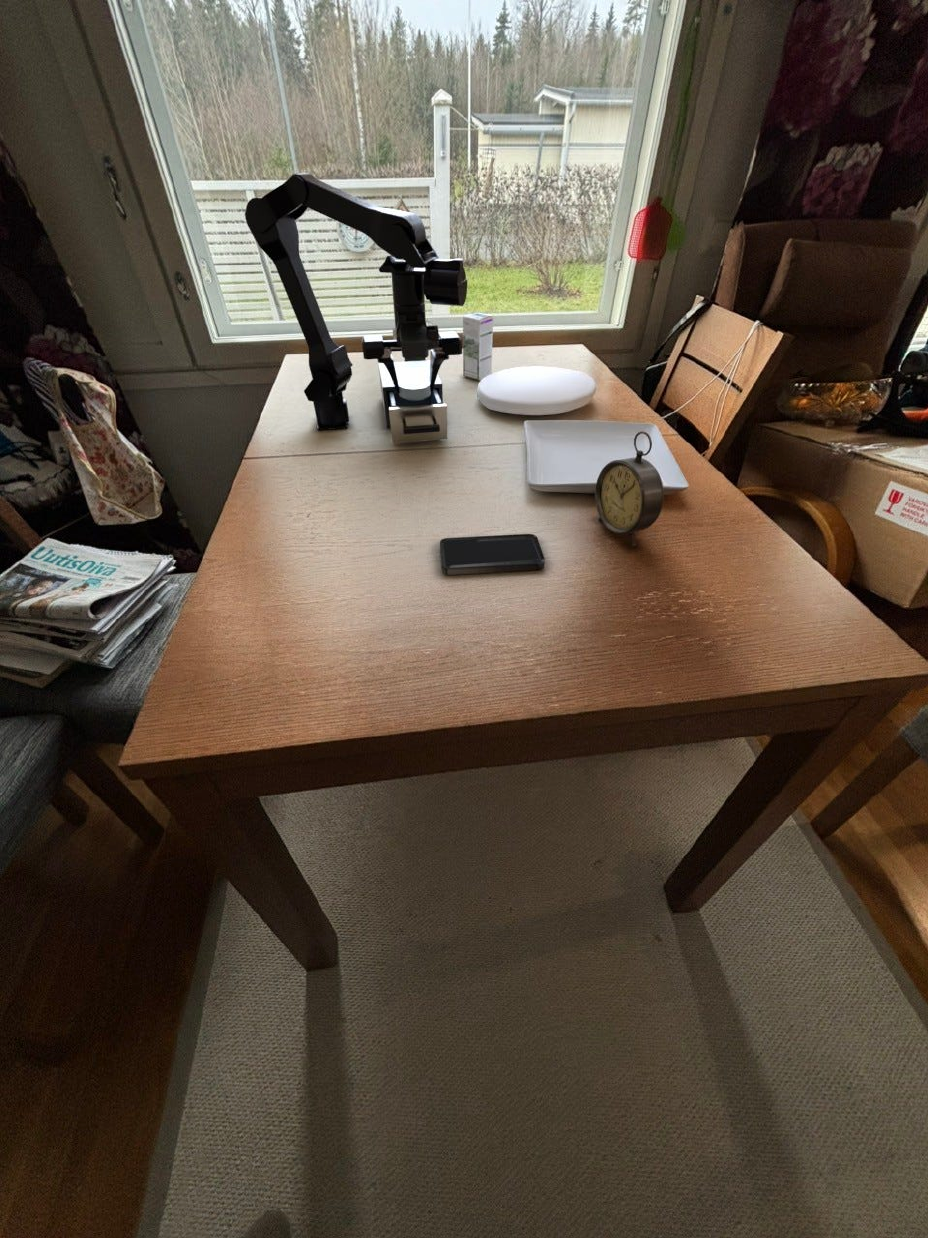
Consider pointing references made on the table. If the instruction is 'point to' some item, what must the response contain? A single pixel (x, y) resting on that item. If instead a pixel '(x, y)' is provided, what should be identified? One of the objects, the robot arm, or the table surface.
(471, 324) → the syrup box
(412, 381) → the pale blue short cylinder
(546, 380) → the white rounded disc
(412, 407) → the drawer
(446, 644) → the table surface
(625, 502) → the alarm clock
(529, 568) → the phone
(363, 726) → the table surface
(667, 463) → the square plate
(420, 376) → the cabinet
